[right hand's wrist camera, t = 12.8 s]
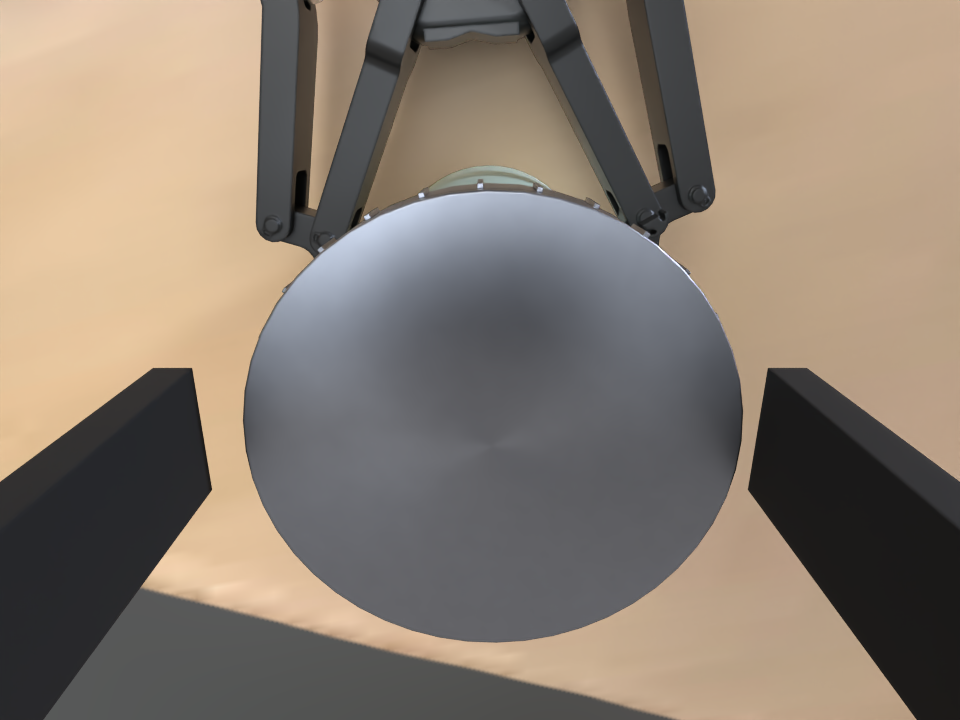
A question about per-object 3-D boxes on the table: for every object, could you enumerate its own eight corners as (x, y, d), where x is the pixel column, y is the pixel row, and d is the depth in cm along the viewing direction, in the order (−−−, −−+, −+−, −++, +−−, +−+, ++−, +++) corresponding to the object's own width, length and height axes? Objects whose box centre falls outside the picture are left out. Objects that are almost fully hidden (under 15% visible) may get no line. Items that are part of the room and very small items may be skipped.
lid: (726, 570, 16) (752, 617, 14) (324, 619, 16) (308, 669, 15) (710, 140, 12) (742, 142, 11) (208, 222, 13) (170, 234, 11)
